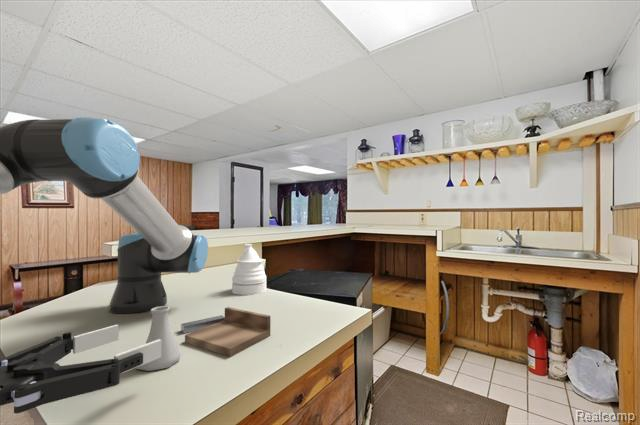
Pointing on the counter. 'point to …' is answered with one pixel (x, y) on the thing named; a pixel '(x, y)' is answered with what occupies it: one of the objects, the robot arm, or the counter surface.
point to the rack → (232, 332)
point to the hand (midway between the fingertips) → (137, 339)
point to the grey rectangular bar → (200, 324)
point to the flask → (164, 333)
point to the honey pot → (249, 274)
